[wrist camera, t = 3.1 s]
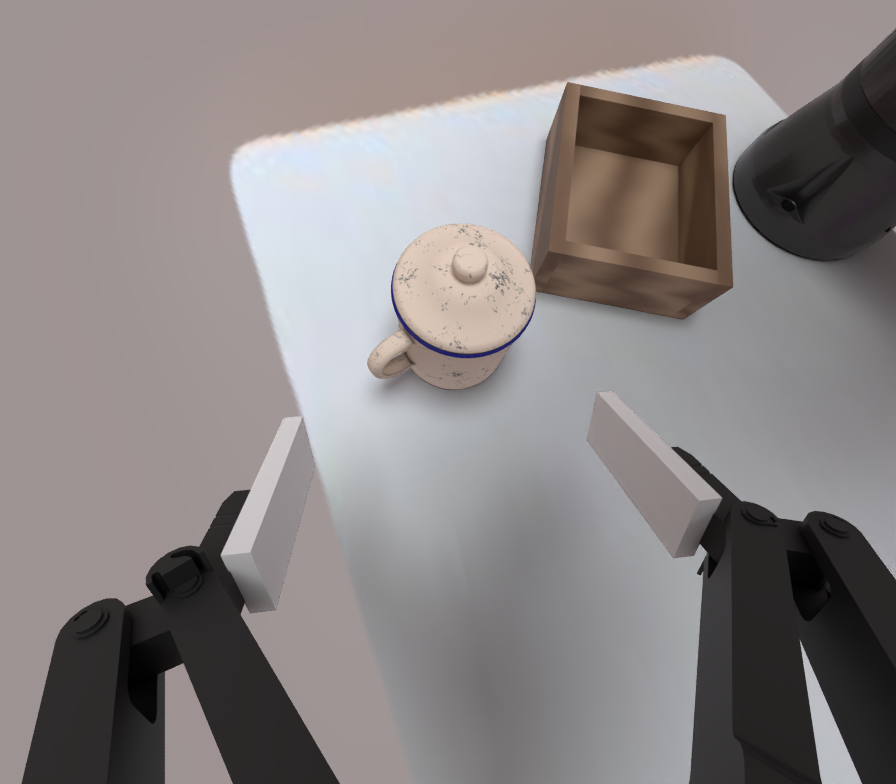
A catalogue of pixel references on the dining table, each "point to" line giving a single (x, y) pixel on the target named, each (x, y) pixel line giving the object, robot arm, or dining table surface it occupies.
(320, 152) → the dining table surface
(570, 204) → the walnut crate
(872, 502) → the dining table surface
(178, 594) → the robot arm
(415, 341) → the teacup with lid
